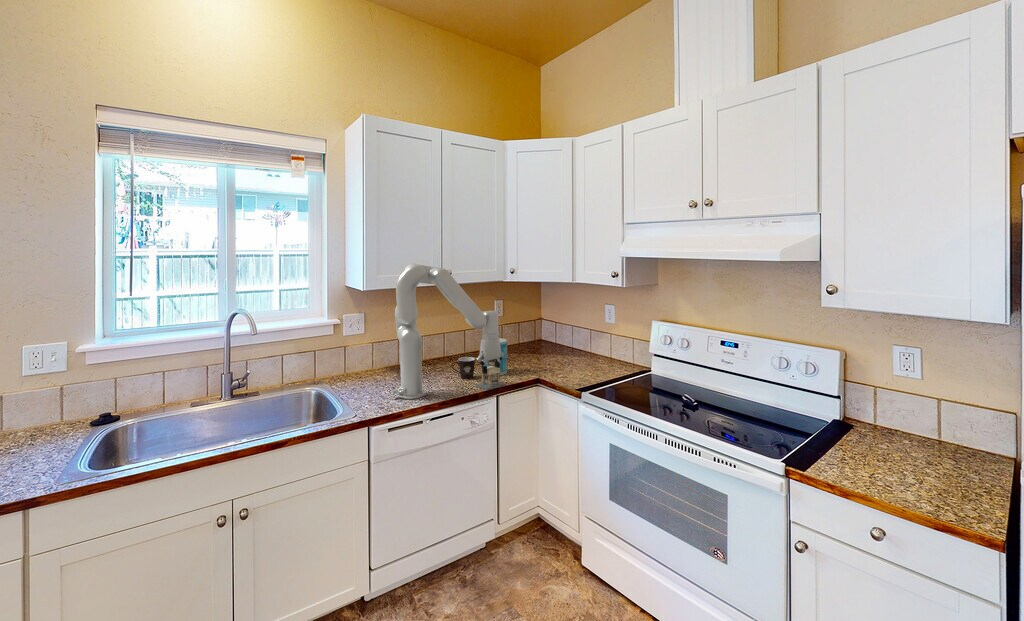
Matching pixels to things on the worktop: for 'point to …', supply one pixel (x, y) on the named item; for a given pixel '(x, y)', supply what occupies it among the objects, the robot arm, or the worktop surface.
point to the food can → (504, 359)
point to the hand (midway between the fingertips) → (490, 371)
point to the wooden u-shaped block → (491, 375)
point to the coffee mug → (466, 367)
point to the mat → (494, 385)
